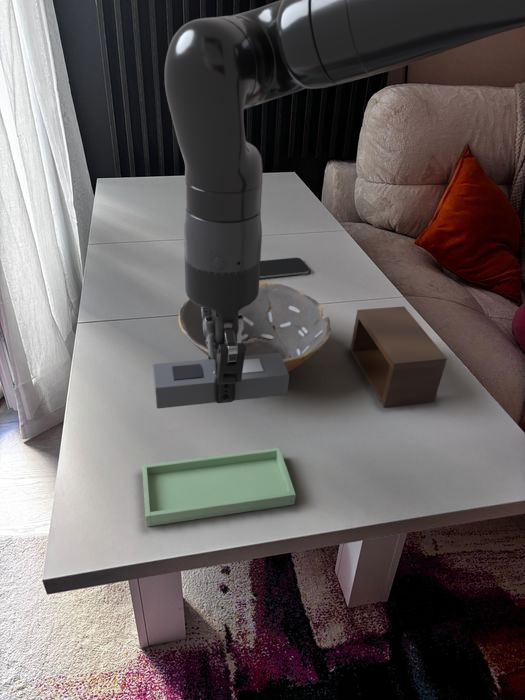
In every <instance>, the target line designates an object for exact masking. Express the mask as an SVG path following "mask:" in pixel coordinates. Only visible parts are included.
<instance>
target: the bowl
mask: <svg viewBox="0 0 525 700" xmlns="http://www.w3.org/2000/svg"><path fill="white" fill-rule="evenodd" d="M239 314H242V315H243V326H244V329H243V331H242V332H241V339H242V343H244V345H245V346H246V351H245V356H250V355H261V354H272V353H280V354H281V357H282V359H283V362H284V364H285V366H286V369H287V371H288V373H290V372H291V371H293V370H294V369H296V368H297V367H299V366H300V365H302V363H304V362H306V361H307V360H308V359H310V358H311V357H313V356H314V355H315V354H317V352H318V351H319V350H320V349H321V348H322V347H323V346H324V345H325V344H326V342H327V341H328V339H329V338H330V335H331V331H332V329H331V320H330V317H329V316H328V315H325V316H323V315H324V312H323V306H322V305H321V304H320V303H319V302H318V301H317V300H316V299H314V298H312V296H311V297H310V296H309V295H308V294H306V293H304V292H303V291H301V290H299V289H296V288H294V287H292V286H291V287H290V286H287V285H284V284H282V283H278V282H272V281H263V280H262V281H261V280H259V293H258V296H257V298H256V299H255V300H254V301H253V302H252V303H251V304H249V305H248V306H245V307H244V308H242V309H241V310H239ZM178 326H179V328H180V331H181V332H182V334H184V336H185V337H186V338H187V340H189V341H190V342H191V343H192V344H193V345H194V346H195V347H196V348H197V349H198V350H199V351H201V352H203V354H205V355H206V356H207V357H208V347H207V344H206V342H205V340H206V336H204V331H203V318H202V312H201V306H198V305H197V304H195V303H193V302H192V301H191V300H190V299H189V298H188V299H186V301H185V302H183V304H182V305H181V307H180V309H179V312H178ZM251 339H264V340H262V341H254V342H248V341H249V340H251Z"/></svg>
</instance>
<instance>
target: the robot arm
mask: <svg viewBox="0 0 525 700" xmlns="http://www.w3.org/2000/svg"><path fill="white" fill-rule="evenodd" d="M524 27H525V0H276V1H274V2H272V3H268V4H266V5H263V6H261V7H257V8H254V9H250V10H248V11H244V12H241V13H237V14H232V15H223V16H214V17H213V16H211V17H203V18H197V19H193V20H190V21H189V22H186V23H185V24H183V25H182V26H181V27H180V28H178V30H177V31H176V32H175V34H174V35H173V37H172V39H171V41H170V43H169V46H168V48H167V52H166V56H165V57H166V58H165V63H164V87H165V94H166V95H165V96H166V99H167V103H168V109H169V112H170V116H171V120H172V124H173V127H174V131H175V136H176V139H177V143H178V146H179V149H180V152H181V155H182V159H183V161H184V188H185V189H184V191H185V193H184V194H185V215H184V224H183V249H184V253H183V254H184V277H185V278H184V280H185V281H184V284H185V288H184V289H185V293H186V296H187V298H188V299H190V300H191V301H192V302H193V303H195V304H197V305H198V306H201V312H202V318H203V331H204V336H206V340H205V342H206V344H207V347H208V356H207V359H213V362H214V371H213V376H214V377H215V396H214V397H215V401H216V402H215V403H216V404H226V403H232V402H234V401H235V400H234V399H235V383H239V382H241V379H242V371H243V364H244V358H245V351H246V346H245V345H244V344H245V342H242V339H241V332H242V331H243V329H244V326H243V315H242V314H239V310H241V309H242V308H244V307H245V306H248V305H249V304H251V303H252V302H253V301H254V300H255V299H256V298H257V296H258V293H259V281H260V279H261V278H260V261H262V259H261V258H262V256H261V255H262V243H263V241H262V240H263V229H262V228H263V227H262V217H261V216H262V211H261V209H262V194H263V193H262V192H263V158H262V155H261V152H260V150H259V149H258V147H256V146H255V145H254V144H253V143H251V142H249V141H248V140H246V132H245V123H244V111H245V110H247V109H250V108H253V107H255V106H259V105H260V104H261V105H262V104H264V103H267V102H269V101H270V102H271V101H272V100H276V99H279V98H282V97H284V96H288V95H291V94H294V93H297V92H300V91H304V90H306V89H310V90H313V89H314V90H316V89H324V88H329V87H333V86H338V85H342V84H346V83H350V82H353V81H356V80H361V79H363V78H368V77H372V76H375V75H379V74H382V73H386V72H389V71H393V70H396V69H399V68H402V67H406V66H408V65H409V66H410V65H412V64H415V63H418V62H420V61H424V60H427V59H429V58H432V57H434V56H438V55H440V54H443V53H445V52H449V51H451V50H454V49H456V48H459V47H462V46H465V45H468V44H471V43H475V42H477V41H479V40H483V39H486V38H489V37H493V36H495V35H499V34H502V33H505V32H510V31H513V30H516V29H520V28H524Z"/></svg>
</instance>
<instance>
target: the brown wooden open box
mask: <svg viewBox="0 0 525 700" xmlns="http://www.w3.org/2000/svg"><path fill="white" fill-rule="evenodd" d="M349 352H350V354H351V355H352V357H353V359H354V361H355V362H356V364H357V365H358V367H359V369H360V371H361V372H362V374H363V376H364V377H365V379H366V380H367V382H368V384H369V385H370V387H371V389H372V391H373V392H374V394H375V396H376V397H377V399H378V401H379V402H380V404H381V406H382V407H383V408H393V407H394V408H395V407H401V406H410V405H419V404H428V403H434V402H435V400H436V396H437V393H438V390H439V387H440V383H441V380H442V377H443V373H444V371H445V367H446V363H447V361H448V357H446V355H445V354H444V353H443V351H442V350H441V349H440V348H439V346H437V344H436V343H435V342H434V341H433V339H432V338H431V337H430V336H429V335H428V333H427V332H426V331H425V330H424V328H423V327H422V326H421V325H420V324H419V322H418V321H417V320H416V319H415V318H414V316H413V315H412V314H411V312H409V310H408V309H407V308H406V307H405V306H403V305H401V306H391V307H389V306H388V307H378V308H365V309H364V308H362V309H357V310H356V315H355V321H354V326H353V332H352V338H351V343H350V348H349Z"/></svg>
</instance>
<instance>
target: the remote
mask: <svg viewBox="0 0 525 700" xmlns="http://www.w3.org/2000/svg"><path fill="white" fill-rule="evenodd" d="M213 371H214V362H213V359H208V358H205V359H195V360H184V361H183V360H182V361H173V362H162V363H161V362H159V363H153V364H152V373H153V386H154V394H155V405H156V409H166V408H177V407H185V406H195V405H196V406H197V405H204V404H205V405H206V404H215V403H217V402H216V401H215V397H214V396H215V377H214V376H213ZM289 373H290V372H288V371H287V369H286V366H285V364H284V362H283V359H282V357H281V354H280V353H272V354H261V355H250V356H245V358H244V364H243V371H242V379H241V382H239V383H235V399H234V401H242V400H243V401H244V400H251V399H261V398H270V397H271V398H272V397H281V396H288V389H289V383H290V382H289V381H290V374H289Z"/></svg>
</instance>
